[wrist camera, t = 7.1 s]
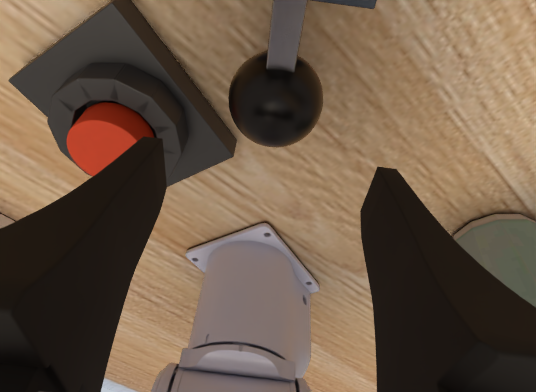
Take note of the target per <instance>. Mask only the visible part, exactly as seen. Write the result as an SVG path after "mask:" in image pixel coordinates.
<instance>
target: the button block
mask: <svg viewBox="0 0 536 392" xmlns="http://www.w3.org/2000/svg"><path fill="white" fill-rule="evenodd" d="M8 81H9V82H10V83H11V84H12V85H13V86H14V87H16V88H17V89H18V90H19V91H20V92H21V93H22V94H23V95H24V96H25V97H26V98H27V99H28V100H30V101H31V102H32V103H33V104H34V105H35V106H36V107H37V108H38V109H39V110H40V111H41V112H43V113H44V114H45V115H46V116H47V117H48V121H47V122H48V125H49V127H50V129H51V131H52V134H53V136H54V138H55V140H56V142H57V144H58V147H59V149H60V150H61V152H62V153H63V154H65V155H66V156H67V157H68V158H69V159H70V160H71V161H72V162H74V163H75V164H76V162H75V161H74V160H73V159H72V157H71V155H70V153H69V151H68V148H67V135H68V132H69V130H70V129H71V128H72V126H73V125H74V124H75V123H76V121H77V120H78V119H79V117H80V116H81V115H82V114H83V112H84V111H85V110H86V109H87V108H89V107H90V106H92V105H94V104H97V103H102V102H111V103H117V104H121V105H124V106H126V107H128V108H130V109H132V110H134V111H135V112H137V113H138V114H139V115H140V116H142V117H143V118H144V119H145V120H146V122H147V123H148V124H149V126H150V127H151V129H152V131H153V134H154V138H161V139H163V149H164V159H165V170H166V181H167V187H168V186H170V185H172V184H174V183H177V182H179V181H181V180H183V179H185V178H188V177H190V176H192V175H194V174H196V173H199V172H201V171H203V170H205V169H207V168H210V167H212V166H214V165H216V164H218V163H221V162H223V161H225V160H227V159H229V158H232V157H233V156H234V152H235V147H236V143H237V140H236V139H235V138H234V136H233V135H232V134H231V132H230V131H229V130H228V128H227V127H226V126H225V124H224V123H223V122H222V121H221V119H220V118H219V117H218V115H217V114H216V113H215V111H214V110H213V109H212V107H211V106H210V105H209V103H208V102H207V101H206V99H205V98H204V97H203V95H202V94H201V93H200V91H199V90H198V89H197V87H196V86H195V85H194V84H193V82H192V81H191V80H190V78H189V77H188V76H187V74H186V73H185V72H184V70H183V69H182V68H181V66H180V65H179V64H178V62H177V61H176V60H175V58H174V57H173V56H172V54H171V53H170V52H169V50H168V49H167V48H166V47H165V45H164V44H163V43H162V41H161V40H160V39H159V37H158V36H157V35H156V33H155V32H154V31H153V29H152V28H151V27H150V25H149V24H148V23H147V21H146V20H145V19H144V17H143V16H142V15H141V13H140V12H139V11H138V10H137V8H136V7H135V6H134V4H133V3H132V2H131V0H112V1H110V2H109V3H108V4H106V5H105V6H104V7H102V8H101V9H100V10H98V11H97V12H96V13H94V14H93V15H92V16H90V17H89V18H88V19H87V20H85V21H84V22H83V23H81V24H80V25H79V26H77V27H76V28H75V29H73V30H72V31H71V32H69V33H68V34H67V35H65V36H64V37H63V38H61V39H60V40H59V41H57V42H56V43H55V44H53V45H52V46H51V47H49V48H48V49H47V50H46V51H44V52H43V53H42V54H40V55H39V56H38V57H36V58H35V59H34V60H32V61H31V62H30V63H28V64H27V65H26V66H24V67H23V68H22V69H21V70H20V71H18V72H17V73H16V74H15V75H14V76H12V77H11V78H10V79H9V80H8ZM76 165H77V164H76ZM77 166H78V165H77ZM78 167H79V166H78ZM79 168H80V167H79ZM80 169H81V168H80ZM81 170H83V169H81ZM83 171H84V170H83ZM84 172H85V171H84ZM85 173H86V174H88V173H87V172H85ZM88 175H90V174H88ZM91 176H92V175H91Z"/></svg>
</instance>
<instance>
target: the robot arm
mask: <svg viewBox="0 0 536 392" xmlns="http://www.w3.org/2000/svg"><path fill="white" fill-rule="evenodd" d="M166 188H167V181H166V170H165V159H164V149H163V139H161V138H153V137H145V136H143V137H142V138H141V139H140V140H138V141H137V142H136V143H135V144H133V145H132V146H131V147H130V148H128V149H127V150H126V151H125V152H124V153H122V154H121V155H120V156H119V157H118V158H116V159H115V160H114V161H113V162H111V163H110V164H109V165H107V166H106V167H105V168H104V169H102V170H101V171H100V172H99V173H97V174H96V175H94V176H93V177H92V178H90V179H89V180H87V181H86V182H85V183H83V184H82V185H80V186H79V187H77V188H76V189H74V190H73V191H71V192H70V193H68V194H67V195H65V196H63V197H62V198H60V199H58V200H56V201H55V202H53V203H51V204H49V205H48V206H46V207H44V208H42V209H40V210H38V211H36V212H34V213H32V214H30V215H28V216H26V217H24V218H22V219H20V220H18V221H16V222H14V223H12V224H10V225H7V226H5V227H3V228H0V392H101V388H102V384H103V380H104V375H105V371H106V367H107V363H108V359H109V356H110V352H111V348H112V344H113V341H114V337H115V333H116V329H117V326H118V323H119V319H120V316H121V312H122V309H123V305H124V302H125V299H126V296H127V292H128V289H129V286H130V283H131V279H132V277H133V274H134V271H135V269H136V266H137V264H138V262H139V259H140V257H141V255H142V253H143V250H144V248H145V246H146V243H147V241H148V239H149V236H150V234H151V232H152V230H153V227H154V225H155V222H156V220H157V218H158V215H159V213H160V210H161V206H162V203H163V199H164V196H165V192H166ZM360 212H361V238H362V244H363V250H364V256H365V262H366V267H367V273H368V278H369V284H370V289H371V295H372V302H373V310H374V325H375V342H376V365H377V392H536V307H535V306H533V305H532V304H530V303H529V302H528V301H526V300H525V299H523V298H522V297H520V296H519V295H518V294H516V293H515V292H514V291H512V290H511V289H510V288H508V287H507V286H506V285H505V284H503V283H502V282H501V281H500V280H498V279H497V278H496V277H495V276H493V275H492V274H491V273H490V272H489V271H487V270H486V269H485V268H484V267H483V266H482V265H480V264H479V263H478V262H477V261H476V260H475V259H474V258H473V257H472V256H471V255H470V254H469V253H468V252H466V251H465V250H464V249H463V248H462V247H461V246H460V245H459V244H458V243H457V242H456V241H455V240H454V239H453V238H452V237H451V235H450V234H449V233H448V232H447V231H446V230H445V229H444V228H443V227H442V226H441V225H440V223H439V222H438V221H437V220H436V219H435V218H434V216H433V215H432V214H431V213H430V212H429V210H428V209H427V208H426V207H425V205H424V204H423V203H422V202H421V200H420V199H419V198H418V197H417V195H416V194H415V193H414V191H413V190H412V189H411V187H410V186H409V185H408V184H407V182H406V181H405V180H404V178H403V177H402V176H401V174H400V173H399V172H398V171H397V169H391V168H384V167H377V170H376V172H375V175H374V178H373V180H372V183H371V185H370V188H369V190H368V193H367V195H366V198H365V201H364V203H363V206H362V208H361V211H360ZM186 257H187V258H188V259H189V260H190V261H191V262H192V263H194V264H195V265H196V266H197V267H198V268H199V269H200V270H201V271H202V272H204V273H205V274H204V278H203V283H202V287H201V291H200V296H199V300H198V305H197V309H196V314H195V318H194V322H193V327H192V331H191V336H190V340H189V344H188V348H184V349H182V354H181V358H180V362H179V364H176V363H169V364H168V365H167V366H166V368H164V369H163V370H162V371H160V372H159V374H158V375H157V377H156V379H155V382H154V384H153V387H152V390H151V392H312V390H311V389H310V387H309V386H308V385H307V382H306V380H305V379H303V378H302V377H303V376H304V374H305V372H306V370H307V368H308V365H309V362H310V357H311V311H310V294H311V293H315V292H318V291H319V289H320V286H319V284H318V283H317V282H316V280H315V279H314V278H313V277H312V276H311V274H310V273H309V272H308V271H307V270H306V268H305V267H304V266H303V265H302V264H301V262H300V261H299V260H298V259H297V258H296V256H295V255H294V254H293V253H292V251H291V250H290V249H289V248H288V247H287V245H286V244H285V243H284V242H283V241H282V239H281V238H280V237H279V236H278V235H277V233H276V232H275V231H274V230H273V229H272V227H271V226H270V225H269V224H266V223H261V224H258V225H256V226H253V227H250V228H247V229H244V230H242V231H239V232H236V233H233V234H231V235H228V236H225V237H222V238H219V239H217V240H214V241H211V242H208V243H206V244H203V245H200V246H197V247H194V248H192V249H189V250H187V252H186Z"/></svg>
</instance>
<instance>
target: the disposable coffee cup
mask: <svg viewBox="0 0 536 392" xmlns="http://www.w3.org/2000/svg"><path fill="white" fill-rule="evenodd" d="M453 239H454V240H455V241H456V242H457V243H458V244H459V245H460V246H461V247H462V248H463V249H464V250H465V251H466V252H468V253H469V254H470V255H471V256H472V257H473V258H474V259H475V260H476V261H477V262H478V263H479V264H480V265H482V266H483V267H484V268H485V269H486V270H487V271H489V272H490V273H491V274H492V275H493V276H495V277H496V278H497V279H498V280H500V281H501V282H502V283H503V284H505V285H506V286H507V287H508V288H510V289H511V290H512V291H514V292H515V293H516V294H518V295H519V296H520V297H522V298H523V299H525V300H526V301H528V302H529V303H530V304H532V305H533V306H535V307H536V221H534V220H532V219H530V218H527V217H525V216H523V215H521V214H494V215H491V216H488V217H485V218H481V219H478V220H475V221H472V222H470V223H469V224H468V225H466V226H465V227H464V228H462V229H461V230H460V231H458V232H457V233H456V234H454V237H453Z"/></svg>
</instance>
